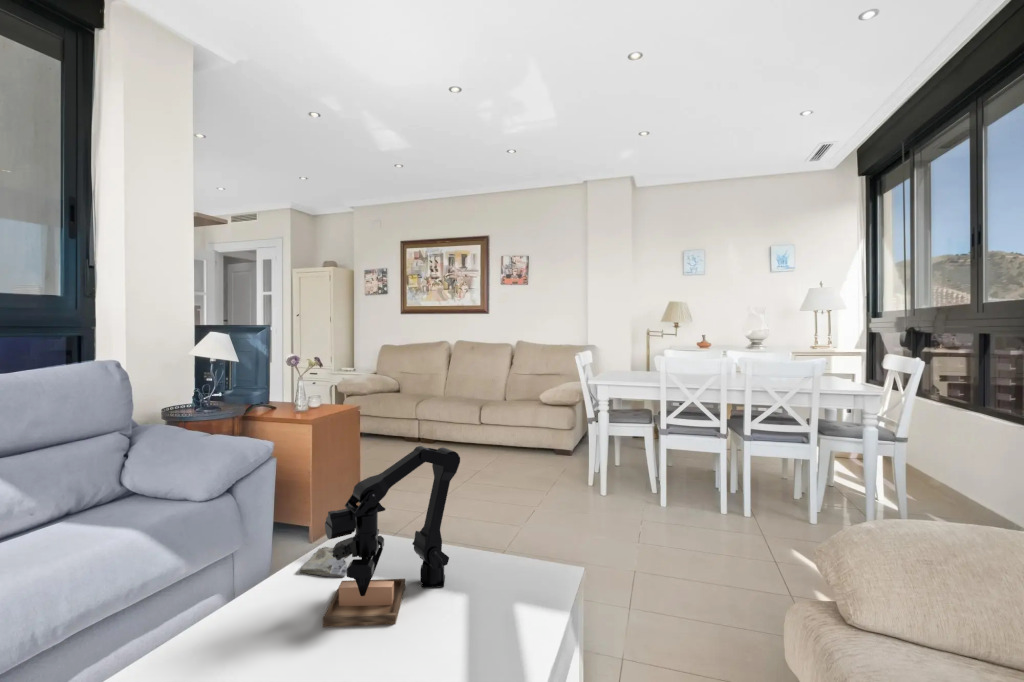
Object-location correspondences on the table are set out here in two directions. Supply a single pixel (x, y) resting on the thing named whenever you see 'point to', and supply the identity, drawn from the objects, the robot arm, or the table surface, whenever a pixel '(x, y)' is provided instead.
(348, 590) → the light brown rectangular block
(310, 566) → the fossil rock
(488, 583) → the table surface
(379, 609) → the tray
